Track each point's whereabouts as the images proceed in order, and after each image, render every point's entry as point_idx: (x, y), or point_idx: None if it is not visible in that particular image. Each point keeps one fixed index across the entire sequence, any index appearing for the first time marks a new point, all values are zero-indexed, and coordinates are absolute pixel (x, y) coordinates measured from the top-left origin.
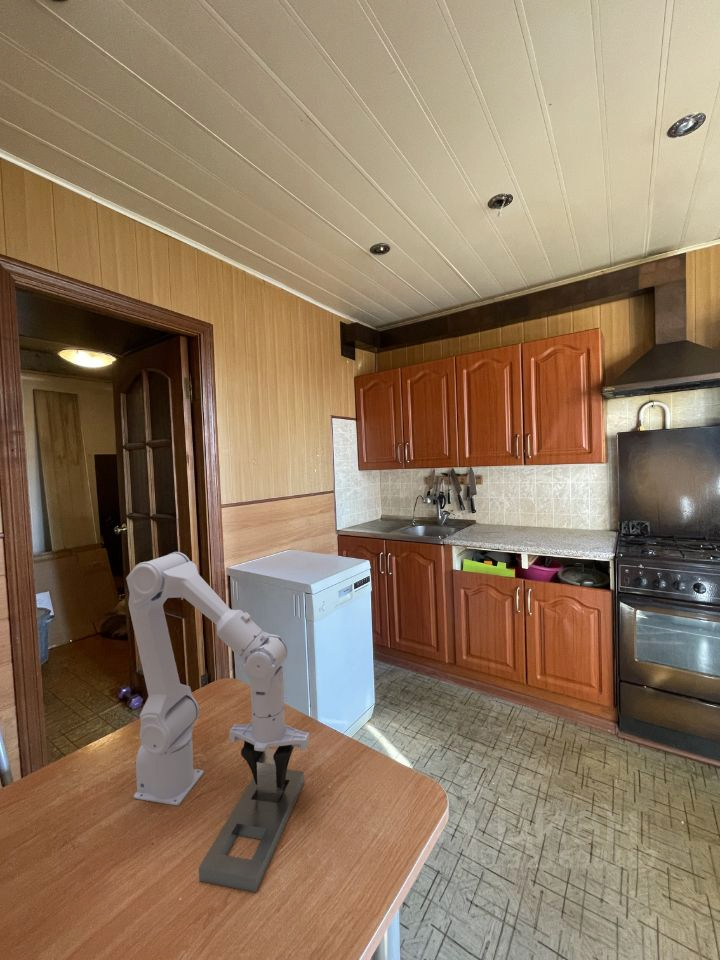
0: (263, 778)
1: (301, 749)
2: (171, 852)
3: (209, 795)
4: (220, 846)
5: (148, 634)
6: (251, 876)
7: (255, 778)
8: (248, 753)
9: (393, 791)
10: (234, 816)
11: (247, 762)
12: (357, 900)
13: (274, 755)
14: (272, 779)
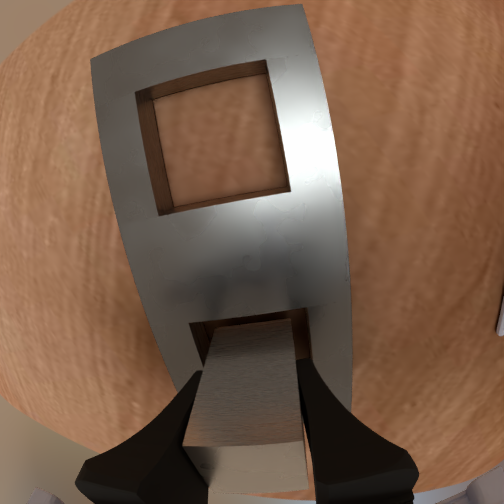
0: (263, 383)
1: (46, 495)
2: (444, 86)
3: (459, 285)
4: (285, 82)
5: None
6: (105, 56)
7: (308, 374)
8: (349, 485)
9: (35, 399)
10: (323, 216)
11: (359, 424)
12: None
13: (130, 494)
14: (215, 388)
